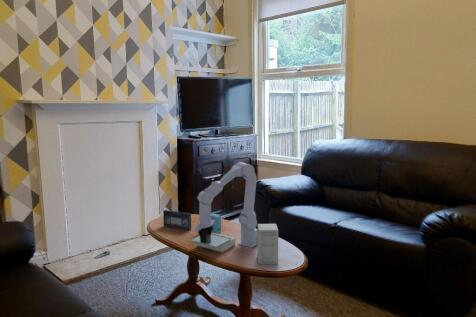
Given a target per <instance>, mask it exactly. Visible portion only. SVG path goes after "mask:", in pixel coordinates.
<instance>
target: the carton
mask: <svg viewBox="0 0 476 317" xmlns="http://www.w3.org/2000/svg"><path fill="white" fill-rule="evenodd" d="M211 234H212V235H216V236H220V237H224V238H228V239H231V241H229V242H227V243H225V244H224V245H222V246H220V247H218V248H213V247H210V246H206V245H202V244H198V243H196V246H197V247H198V248H202V249H206V250H209V251H213V252H217V253H221V254H223V253H225V252H226V251H228V250H230V249H232V248H234V247H235V246H236V237H233V236H228V235H223V234H215V233H211Z"/></svg>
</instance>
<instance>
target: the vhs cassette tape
mask: <svg viewBox="0 0 476 317" xmlns="http://www.w3.org/2000/svg"><path fill="white" fill-rule="evenodd" d="M162 212H163V213H162V216H163V218H162V219H163V227H165V228H170V229H171V228H172V229H176V230H182V231H188V232H189V231H191V230H192V213H188V212H184V211H183V212H182V211H175V210H169V209H168V210H167V209H165V210H163V211H162Z"/></svg>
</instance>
